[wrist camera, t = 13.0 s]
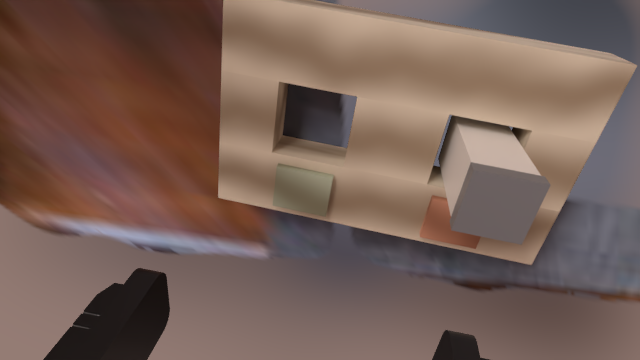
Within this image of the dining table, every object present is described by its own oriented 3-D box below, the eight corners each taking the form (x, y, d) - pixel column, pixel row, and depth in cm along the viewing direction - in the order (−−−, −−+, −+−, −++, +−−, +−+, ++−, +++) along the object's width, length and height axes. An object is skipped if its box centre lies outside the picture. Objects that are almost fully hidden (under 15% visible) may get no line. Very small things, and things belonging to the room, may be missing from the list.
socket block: (241, -13, 30) (220, -9, 26) (610, 53, 28) (642, 67, 24) (232, 178, 38) (215, 201, 34) (519, 238, 36) (533, 270, 32)
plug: (452, 110, 31) (473, 170, 23) (507, 120, 31) (550, 184, 23) (436, 159, 34) (451, 230, 25) (488, 169, 33) (521, 244, 25)
